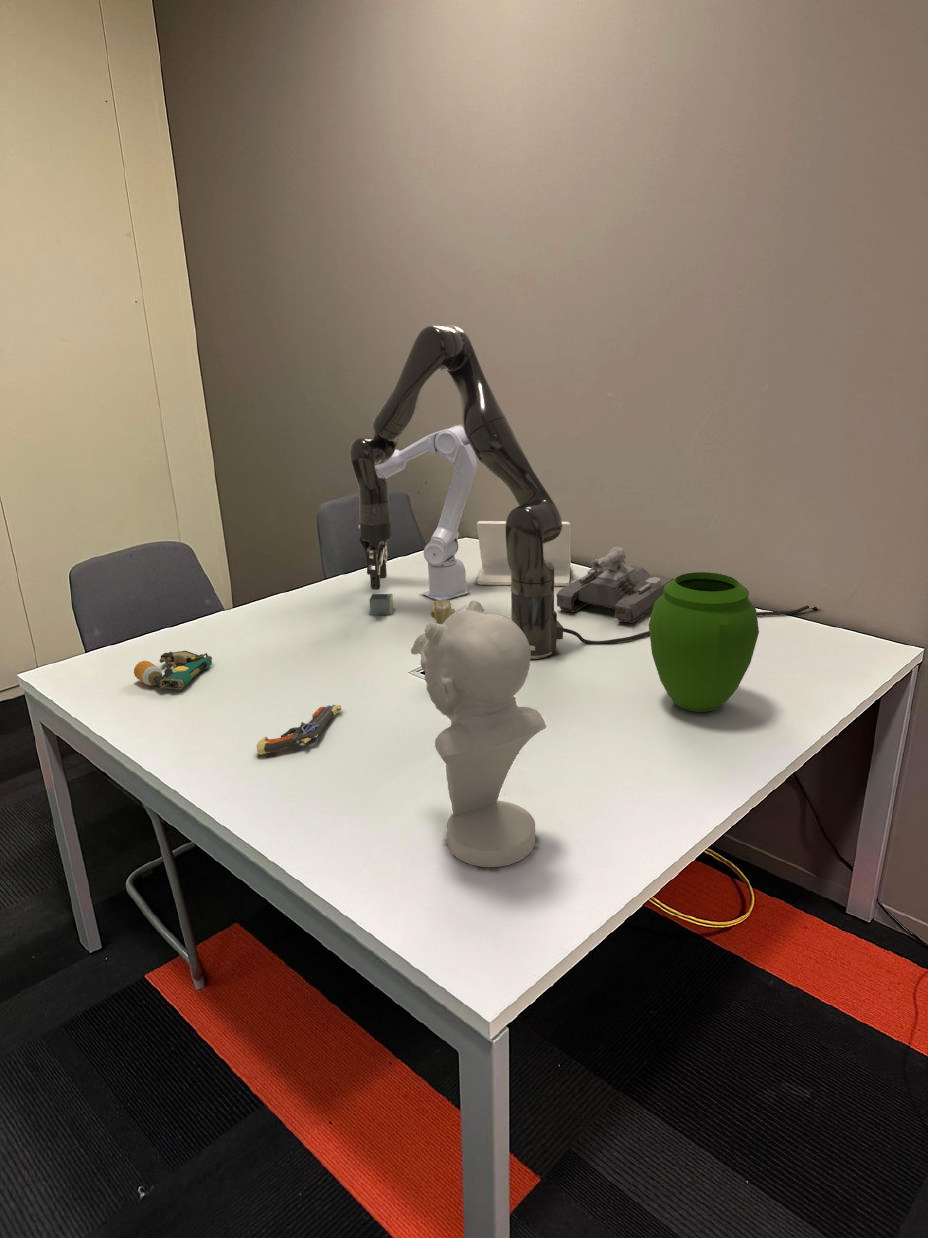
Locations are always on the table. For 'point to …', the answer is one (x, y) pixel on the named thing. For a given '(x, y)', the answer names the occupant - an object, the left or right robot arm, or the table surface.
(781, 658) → the table surface
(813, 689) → the table surface
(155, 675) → the spray gun
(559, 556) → the tablet stand
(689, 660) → the vase
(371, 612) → the block
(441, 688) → the bust sculpture
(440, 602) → the sculpture
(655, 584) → the toy
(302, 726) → the toy gun
